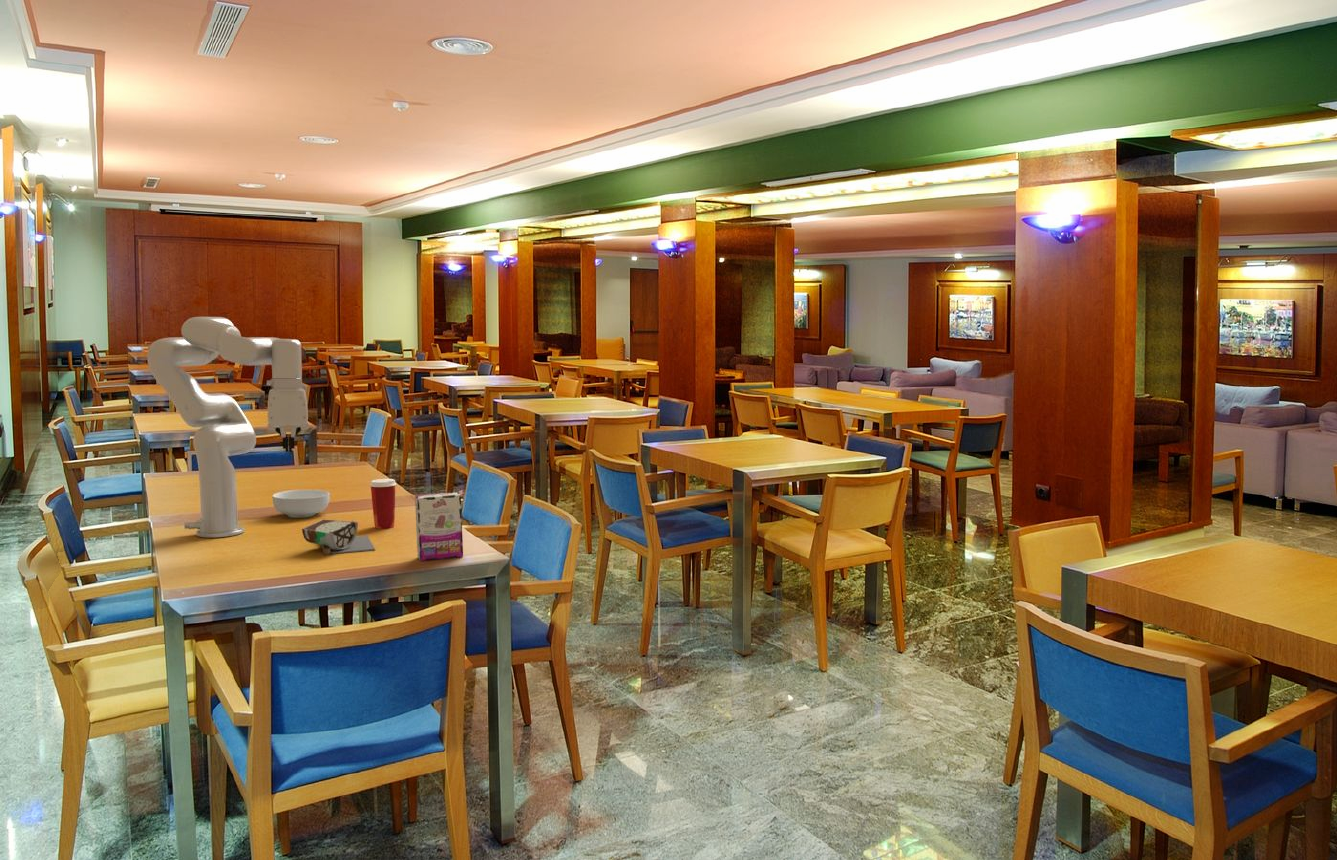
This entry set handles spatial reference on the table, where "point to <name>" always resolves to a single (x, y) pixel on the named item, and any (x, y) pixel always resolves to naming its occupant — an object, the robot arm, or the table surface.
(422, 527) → the candy bar box
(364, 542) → the mat
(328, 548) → the rail
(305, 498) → the cereal bowl
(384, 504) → the paper cup
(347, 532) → the food container
